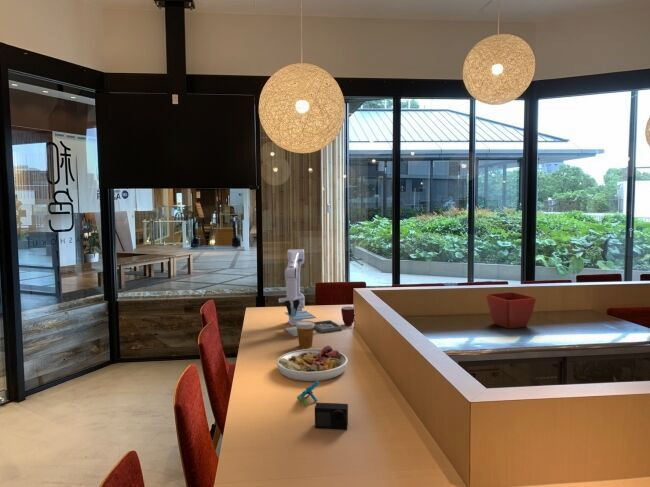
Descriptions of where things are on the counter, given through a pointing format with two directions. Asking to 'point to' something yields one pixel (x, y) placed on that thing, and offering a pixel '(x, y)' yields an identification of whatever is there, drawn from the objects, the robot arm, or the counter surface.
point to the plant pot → (510, 309)
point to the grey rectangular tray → (327, 326)
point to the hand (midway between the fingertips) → (292, 314)
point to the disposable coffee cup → (305, 333)
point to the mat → (294, 331)
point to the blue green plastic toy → (309, 392)
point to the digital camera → (331, 416)
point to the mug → (348, 315)
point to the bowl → (312, 364)
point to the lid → (299, 314)
